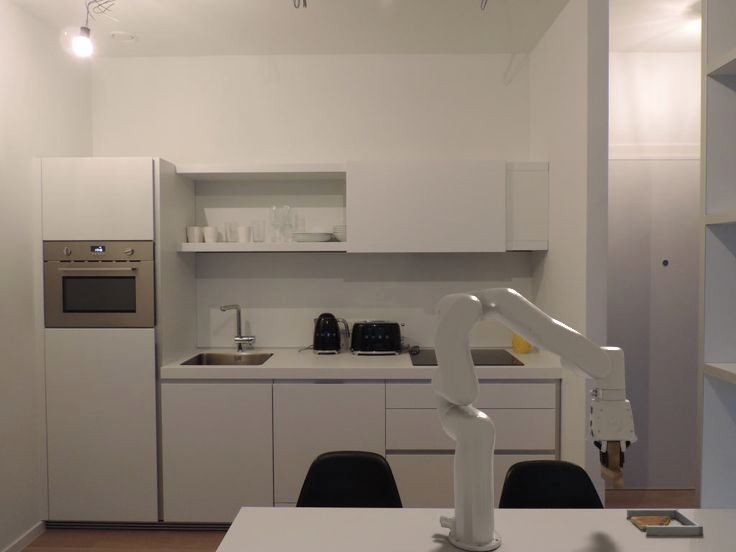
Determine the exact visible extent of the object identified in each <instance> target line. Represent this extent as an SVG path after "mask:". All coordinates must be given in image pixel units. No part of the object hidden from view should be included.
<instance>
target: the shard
mask: <svg viewBox="0 0 736 552" xmlns="http://www.w3.org/2000/svg"><path fill="white" fill-rule="evenodd" d="M671 519H672V518H671V516H638V517H632V518H630V522H631V523H633V524H635V526H637V527H638V528H639V529H640V530H642V531H644V530H645V531H646V526H668V524H669V523H670V521H671Z"/></svg>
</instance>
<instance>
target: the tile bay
mask: <svg viewBox="0 0 736 552" xmlns="http://www.w3.org/2000/svg"><path fill="white" fill-rule="evenodd" d="M638 516H671V518H670V519H675V518H676V519H677V520H678V521H679V522H681V523H682V524H683V525H666V526H646V530H645V532H646V533H645V534H646V535H647V536H703V535H704V526H702V525H701V524H700V523H698V522H696V521H695V520H694V519H693V518H691V517H690V516H688V515H687V514H686V513H685V512H683V511H681V510H680V509H678V508H634V509H633V508H629V509H628V508H626V517H627V518H629V519H631V518H632V517H638Z"/></svg>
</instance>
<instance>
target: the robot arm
mask: <svg viewBox="0 0 736 552" xmlns="http://www.w3.org/2000/svg"><path fill="white" fill-rule="evenodd" d="M435 315H436V317H437V320H439V322H438V324H437V327H436V328H435V329H436V330H435V333H434V337H433V347H434V353H435V358H436V363H437V367H436V369H434V372H433V373H432V376H431V383H430V384H431V385H430V386H431V391H432V396H433V399H434V400H433V401H434V403H435V407H436V411H437V414H438V418H439V421H440V424H441V426H442V429H443V431H444V433H445V434H446V435H448V436H449V437H450V438H451V439H452V440H454V441H455V443H456V444H455V445H456V446H455V452H454V458H453V482H454V483H453V491H454V495H453V496H454V497H453V498H454V516H452V517H450V516H446V515H440V517H439V524H440V527H441V528H445V529H449V530H450V531H449V532H448V541H449V542H450V543H451V544H452V545H453V546H454V547H456V548H459V549H461V550H465V551H471V552H487V551H491V550H496V549H498V547H500V545H501V544H502V536H501V534H500V533H499V532H498V531H496V530H495V494H494V493H495V489H494V485H495V483H494V452H495V446H496V440H497V439H496V438H497V431H496V426H495V424H494V422H493V420H492V419H491V417H489V415H488V414H486V413H485V412H483V411H482V410H479V409H478V408H476V407H474V406H473V404H474V403H476V401H478V399H479V397H480V391H481V388H480V382H479V379H478V375H477V372H476V368H475V364H474V360H473V357H472V352H471V346H470V339H471V338H470V337H471V335H472V332H473V331H474V329H475V327H476V326H477V324H479V323H482V322H483V323H484V322H487V321H498V322H500V323H501V324H502V325H504V326H505V327H506V328H507V329H509V330H511V331H512V332H514V333H515V334H516V335H518V337H520V338H521V339H523V340H524V341H525V342H526V343H528V344H530V345H531V346H534V347H535V348H538V349H539V350H542V351H545V352H547V353H551V354H555V355H556V356H558V357H560V359H559V360H560V365H561V367H562V369H563V370H564V371H565V372H566V373H568V374H571V375H573V376H576V377H582V378H586V379H591V380H593V388H592V390H588V395H589V396H591V397H593V398H592V399H591V403H590V409H589V421H588V422H589V423H588V427H589V428H588V429H589V430H588V432H587V433H586V435H585V437H584V439H585V440H586V441H587V442H588V443H591V444H592V445H594V446H595V448H597V449H598V451H599V452H598V453H599V462H600V465H601V464H602V465H603V466H604V467H605V468H608V467H609V454H608V452H607V449H606V445H607V441H619V442H620V469H623V468H624V464H625V452H627V449H628V448H629V447H630V446H631V444H634V443H636V442H637V441H638V440H639V439H638V437H637V435H636V432H635V424H634V423H635V422H634V417H633V411H632V406H631V402H630V400H628V399H627V397H626V395H627V394H626V374H625V373H626V369H625V368H626V367H625V366H626V365H625V353H624V350H623V349H622V348H620V347H618V346H617V347H616V346H599V345H598V344H596V343H595V342H594V341H592V340H591V339H589V338H588V337H586V336H585V335H584V334H581V333H580V332H578V331H577V330H574V329H572V328H571V327H569V326H567V325H565V324H564V323H562V322H560V321H558V320H556V319H554V318H552V317H551V316H549V315H548V314H547V313H545V312H544V311H543V310H541V309H540V308H538V307H537V306H536V305H535V304H533V302H531V301H529V300H528V299H527V298H526V297H524V296H523V295H521V294H520V293H519V292H517V290H514V289H512V288H509V287H493V288H486V289H481V290H480V289H479V290H474V291H466V292H460V293H459V292H458V293H452V294H446V295H444V296H443V297H441V298H440V299H439V300H438V302H437V304H436V308H435ZM594 438H595V439H594Z"/></svg>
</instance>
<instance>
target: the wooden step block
mask: <svg viewBox="0 0 736 552" xmlns="http://www.w3.org/2000/svg"><path fill="white" fill-rule="evenodd" d="M606 449H607V452H608V454H609V467H608V468H605V467H604V466H603V465H602V464H601V463H600V478H602V480H604V482H605V483H607V484H608V485H609V486H610V487H611V488H612V489H613V490H617V489H619V490H620V489H624V488H625V487H624V472H623V471H622V470H621V468H620V442H619V441H607V445H606Z"/></svg>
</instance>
